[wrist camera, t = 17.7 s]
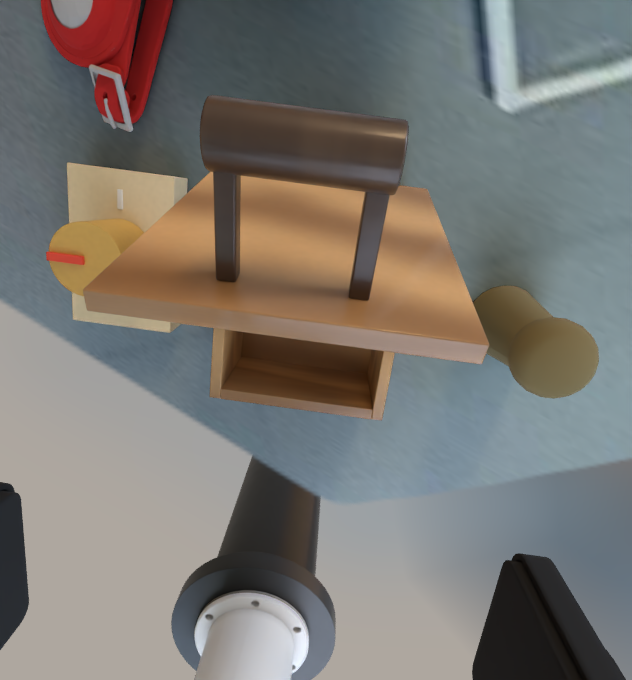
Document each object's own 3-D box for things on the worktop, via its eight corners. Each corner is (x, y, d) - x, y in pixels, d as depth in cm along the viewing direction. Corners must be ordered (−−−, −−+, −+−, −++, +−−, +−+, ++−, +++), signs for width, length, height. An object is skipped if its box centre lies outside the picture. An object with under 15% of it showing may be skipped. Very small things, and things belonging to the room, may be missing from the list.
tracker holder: (4, -7, 32) (81, -142, 27) (61, 19, 36) (135, -95, 31) (95, 141, 31) (187, 30, 27) (141, 150, 35) (228, 55, 31)
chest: (374, 379, 40) (381, 421, 32) (233, 360, 40) (209, 397, 33) (407, 196, 35) (424, 195, 28) (247, 175, 35) (222, 168, 28)
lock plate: (189, 324, 39) (176, 334, 36) (85, 310, 39) (64, 319, 36) (195, 179, 36) (181, 177, 33) (80, 164, 36) (57, 161, 33)
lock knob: (153, 223, 34) (120, 227, 29) (152, 288, 35) (120, 303, 30) (87, 214, 34) (43, 216, 29) (89, 279, 35) (47, 293, 30)
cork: (542, 283, 37) (623, 316, 26) (536, 353, 38) (610, 411, 28) (467, 287, 37) (516, 321, 27) (464, 356, 39) (510, 414, 28)
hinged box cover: (482, 365, 14) (566, 154, 11) (85, 311, 14) (36, 85, 11) (424, 202, 28) (452, 84, 24) (220, 175, 28) (218, 54, 24)
